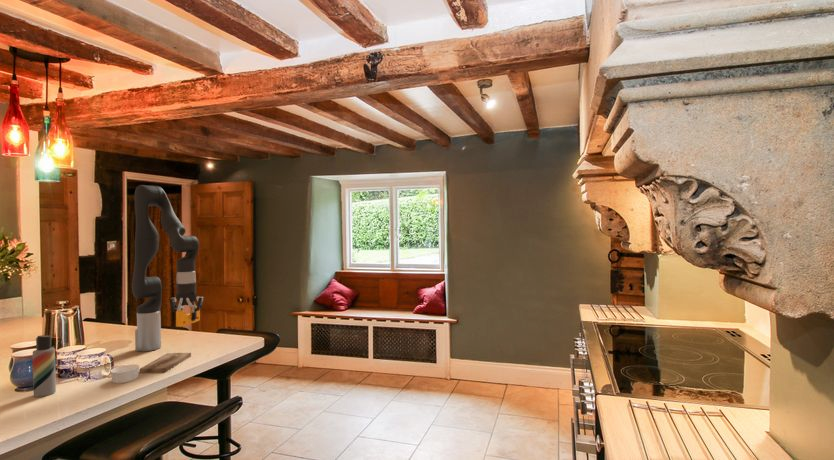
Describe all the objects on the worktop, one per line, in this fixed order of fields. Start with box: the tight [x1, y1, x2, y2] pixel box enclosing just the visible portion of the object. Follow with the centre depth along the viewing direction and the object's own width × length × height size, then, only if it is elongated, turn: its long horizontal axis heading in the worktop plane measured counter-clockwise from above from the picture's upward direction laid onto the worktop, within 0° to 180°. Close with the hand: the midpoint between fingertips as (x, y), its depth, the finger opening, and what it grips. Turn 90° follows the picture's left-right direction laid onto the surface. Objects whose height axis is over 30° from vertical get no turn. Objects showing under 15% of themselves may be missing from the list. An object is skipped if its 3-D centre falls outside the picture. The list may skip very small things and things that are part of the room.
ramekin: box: [110, 363, 140, 384], centre depth 157 cm, size 9×9×4 cm
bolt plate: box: [139, 352, 192, 374], centre depth 174 cm, size 10×20×2 cm, turn 3°
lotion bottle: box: [32, 334, 57, 398], centre depth 144 cm, size 6×6×20 cm
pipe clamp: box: [175, 305, 201, 328], centre depth 184 cm, size 12×4×6 cm, turn 173°
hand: (187, 320), depth 184 cm, fingers closed on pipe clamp, 4 cm apart
